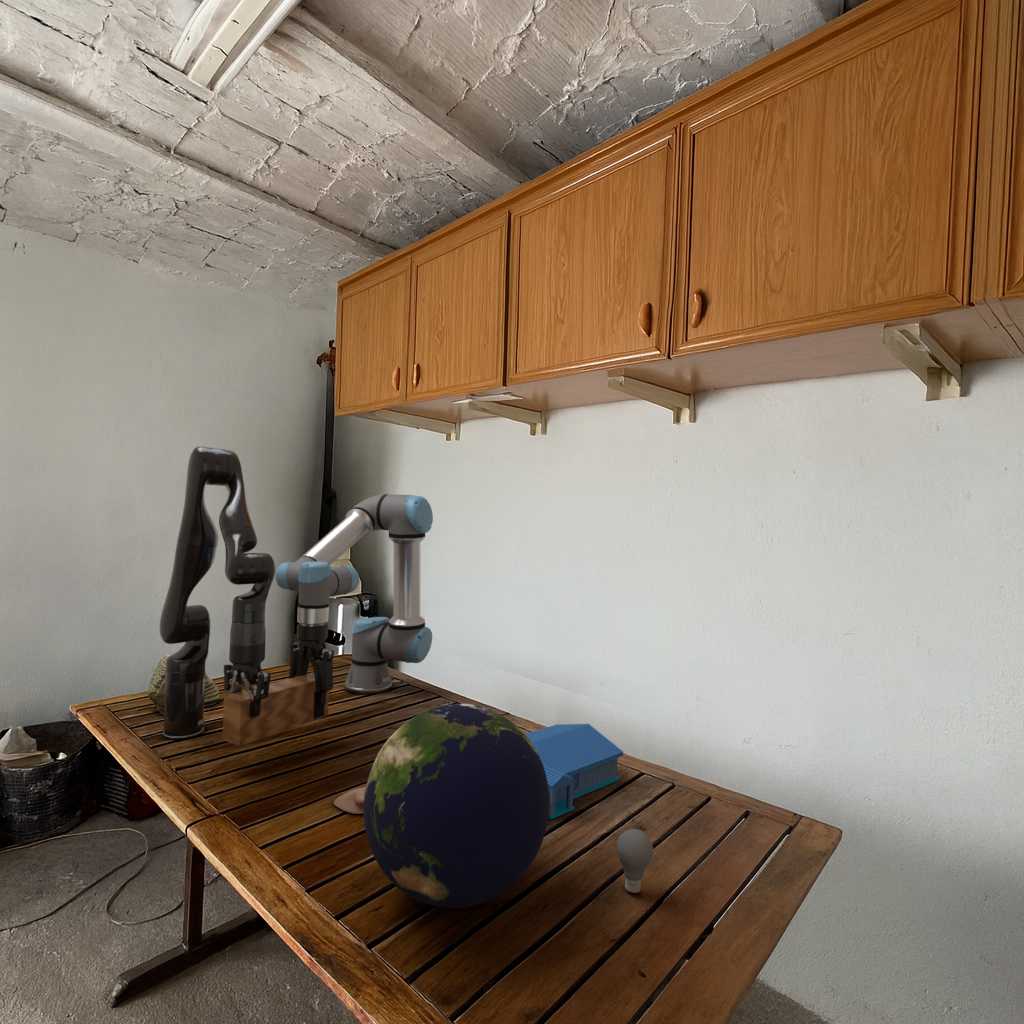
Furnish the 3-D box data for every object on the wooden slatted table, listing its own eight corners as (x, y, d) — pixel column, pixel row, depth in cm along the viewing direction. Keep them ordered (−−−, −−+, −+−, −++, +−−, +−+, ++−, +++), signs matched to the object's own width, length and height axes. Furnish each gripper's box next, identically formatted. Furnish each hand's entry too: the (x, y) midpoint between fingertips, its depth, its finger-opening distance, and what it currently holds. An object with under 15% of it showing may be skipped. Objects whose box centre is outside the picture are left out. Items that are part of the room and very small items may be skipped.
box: (239, 746, 140) (240, 701, 140) (222, 739, 143) (223, 695, 143) (328, 715, 162) (329, 676, 162) (311, 710, 165) (313, 672, 165)
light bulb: (610, 879, 108) (613, 822, 108) (644, 879, 109) (647, 822, 109) (619, 902, 102) (622, 840, 102) (655, 901, 103) (658, 840, 103)
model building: (505, 839, 120) (507, 787, 120) (430, 791, 138) (432, 746, 138) (631, 784, 146) (633, 741, 146) (555, 749, 164) (556, 711, 164)
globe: (319, 919, 95) (326, 721, 95) (420, 827, 123) (427, 673, 122) (502, 984, 84) (511, 760, 83) (568, 867, 112) (576, 698, 111)
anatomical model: (326, 790, 128) (352, 767, 139) (326, 809, 128) (351, 785, 139) (388, 799, 125) (409, 775, 136) (387, 819, 125) (408, 793, 137)
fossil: (144, 707, 182) (145, 655, 182) (212, 696, 194) (213, 647, 194) (151, 716, 175) (153, 662, 175) (221, 703, 188) (223, 653, 188)
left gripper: (282, 642, 144) (279, 716, 144) (242, 633, 151) (240, 703, 151) (253, 648, 137) (250, 725, 138) (213, 638, 145) (210, 711, 145)
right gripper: (351, 626, 158) (347, 718, 159) (299, 616, 168) (296, 702, 169) (327, 631, 152) (324, 726, 152) (275, 620, 162) (272, 709, 162)
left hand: (245, 713), depth 144 cm, fingers closed on box, 6 cm apart
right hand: (309, 713), depth 160 cm, fingers closed on box, 6 cm apart
